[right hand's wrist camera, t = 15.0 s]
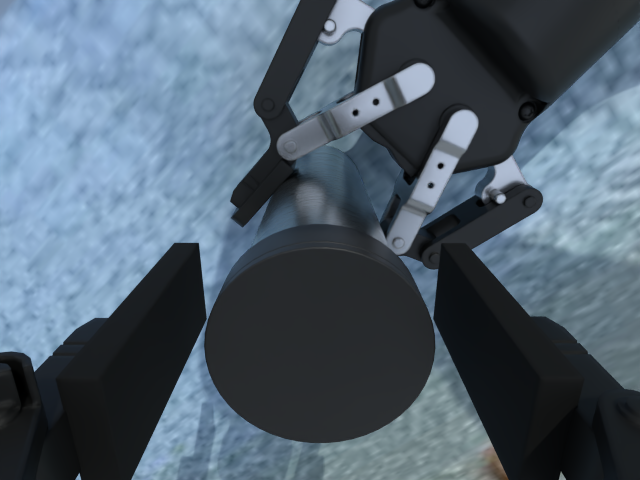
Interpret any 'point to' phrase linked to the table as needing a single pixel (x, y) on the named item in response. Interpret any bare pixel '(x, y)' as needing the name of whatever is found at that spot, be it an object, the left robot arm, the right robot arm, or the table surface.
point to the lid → (319, 335)
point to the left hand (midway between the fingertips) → (284, 253)
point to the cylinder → (321, 197)
